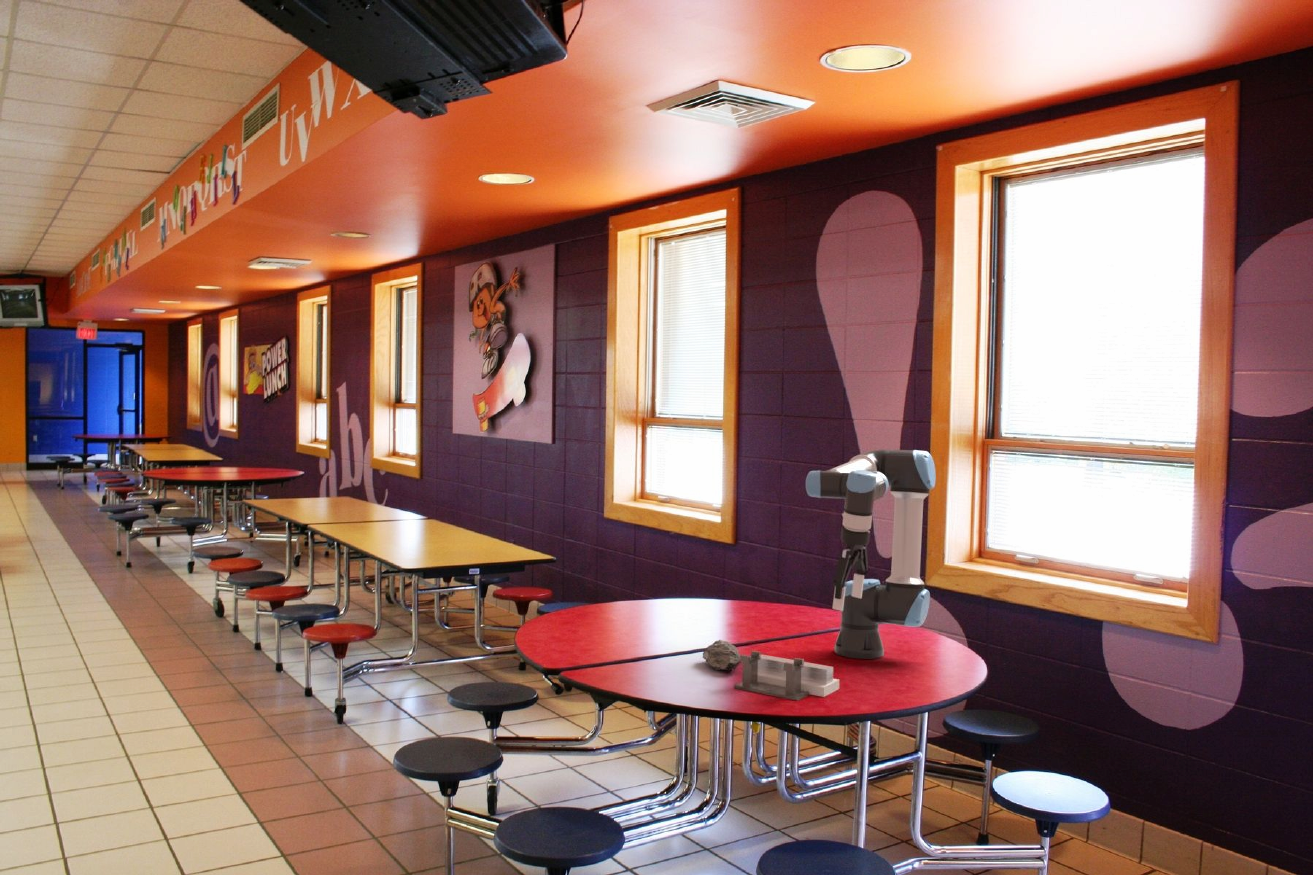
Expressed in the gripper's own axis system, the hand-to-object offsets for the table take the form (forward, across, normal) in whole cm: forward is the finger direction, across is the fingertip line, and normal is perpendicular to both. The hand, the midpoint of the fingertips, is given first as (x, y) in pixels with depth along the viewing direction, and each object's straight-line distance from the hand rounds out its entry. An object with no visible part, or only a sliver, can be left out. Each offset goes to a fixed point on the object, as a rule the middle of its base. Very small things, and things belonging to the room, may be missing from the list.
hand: (847, 603), depth 263 cm
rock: (+28, +3, -33) cm, 44 cm away
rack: (+24, +17, -12) cm, 31 cm away
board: (+24, +8, -10) cm, 27 cm away
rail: (+22, +8, -10) cm, 25 cm away
